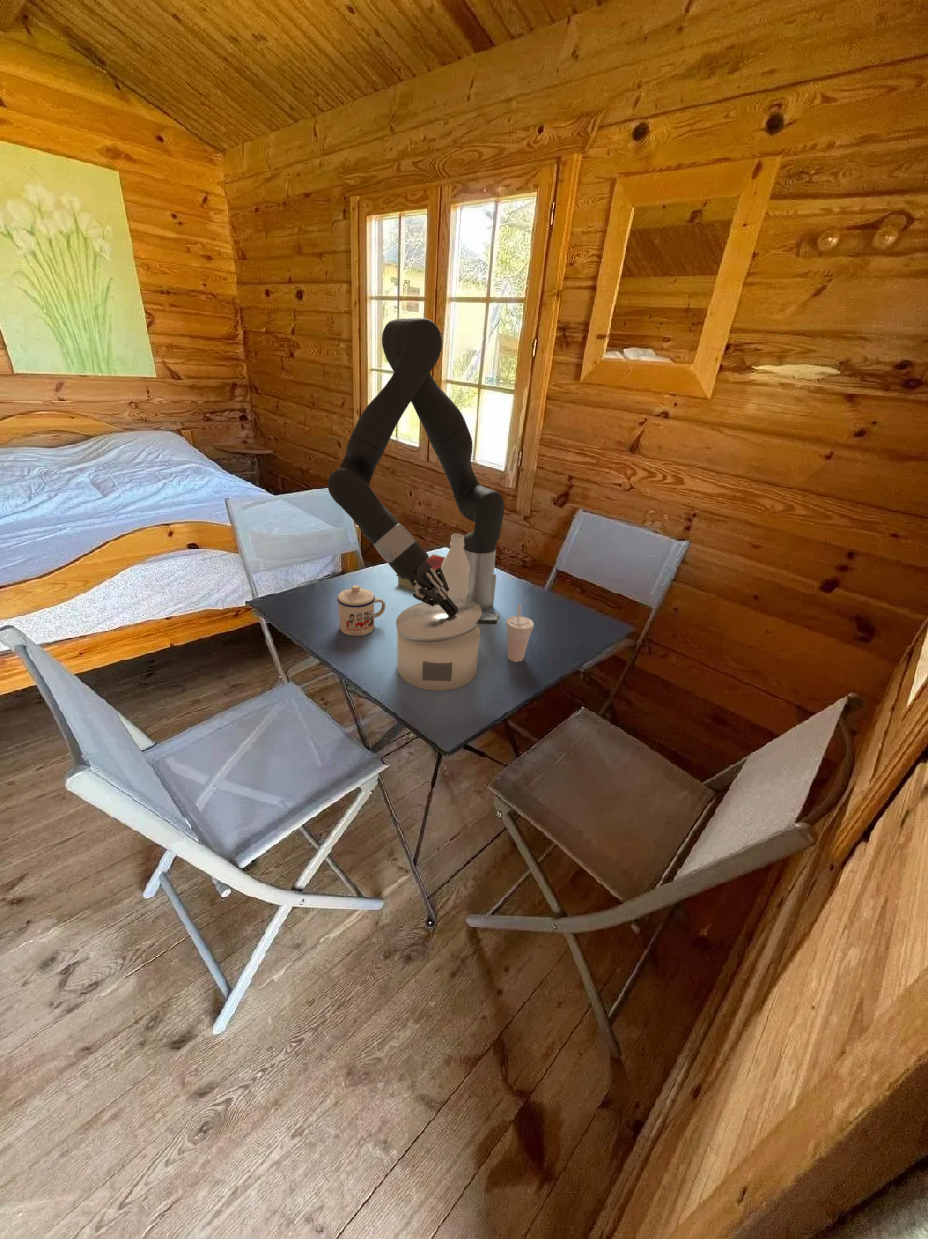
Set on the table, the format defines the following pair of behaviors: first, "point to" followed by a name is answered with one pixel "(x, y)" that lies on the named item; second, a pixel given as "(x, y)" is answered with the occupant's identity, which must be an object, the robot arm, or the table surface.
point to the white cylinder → (438, 661)
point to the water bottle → (456, 568)
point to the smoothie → (518, 636)
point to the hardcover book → (432, 560)
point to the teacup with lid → (357, 611)
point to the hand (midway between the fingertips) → (454, 613)
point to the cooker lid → (441, 621)
